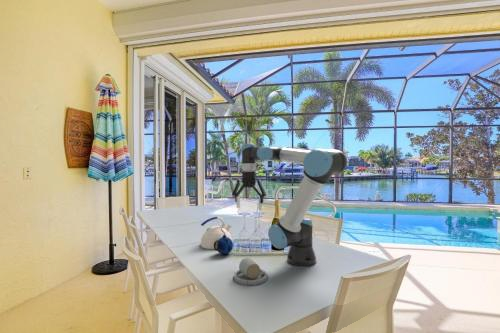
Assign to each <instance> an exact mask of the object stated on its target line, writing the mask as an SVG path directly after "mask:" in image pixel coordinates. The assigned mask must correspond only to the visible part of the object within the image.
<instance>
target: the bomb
mask: <svg viewBox="0 0 500 333" xmlns="http://www.w3.org/2000/svg"><path fill="white" fill-rule="evenodd" d="M221 231H222V228H221ZM222 232H223V233H224V235H223V237H222V238H220V239H219V240H217V241H215V242H214V249H213V250H214V251H216V252H218V253H219V254H221V255H228V254H230V253H231V252H232V250H233V248H234V243H233V239H232V238H231V239H232V240H231V239H230V238H228V237H226V235H225V232H224V231H222Z"/></svg>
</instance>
